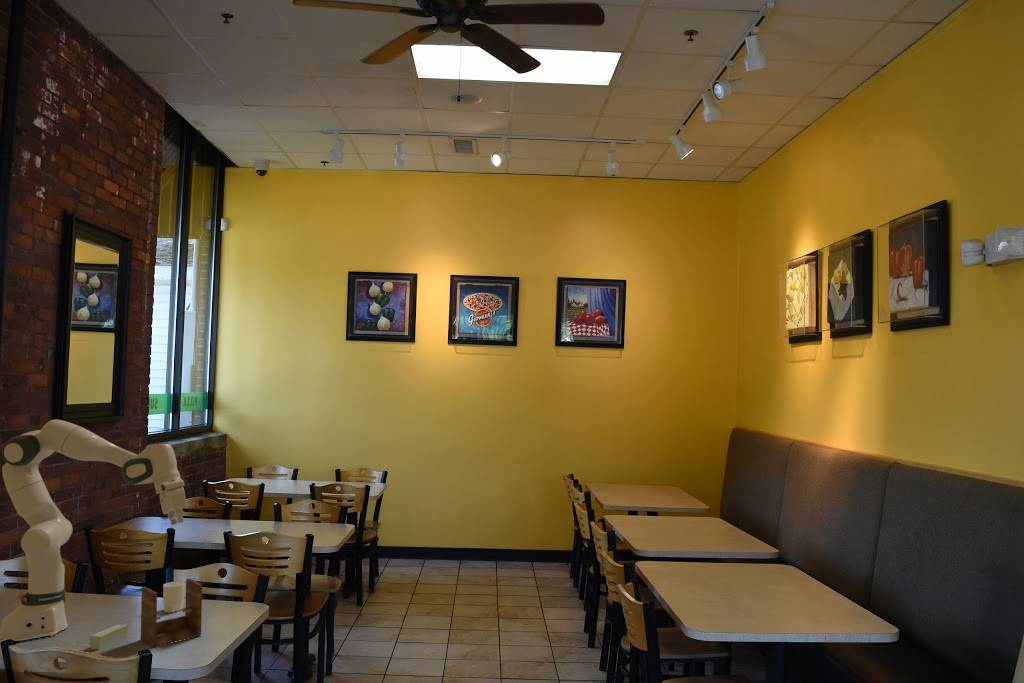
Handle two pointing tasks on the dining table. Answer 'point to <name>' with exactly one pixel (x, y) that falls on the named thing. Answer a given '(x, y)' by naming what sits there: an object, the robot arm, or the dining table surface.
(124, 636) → the cream rectangular block
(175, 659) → the dining table surface
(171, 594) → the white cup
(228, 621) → the dining table surface
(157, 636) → the wooden napkin holder
